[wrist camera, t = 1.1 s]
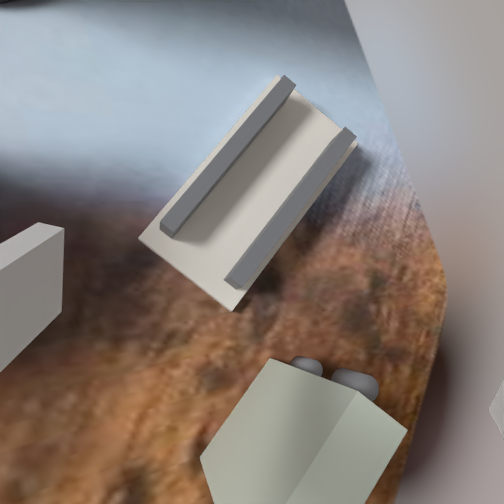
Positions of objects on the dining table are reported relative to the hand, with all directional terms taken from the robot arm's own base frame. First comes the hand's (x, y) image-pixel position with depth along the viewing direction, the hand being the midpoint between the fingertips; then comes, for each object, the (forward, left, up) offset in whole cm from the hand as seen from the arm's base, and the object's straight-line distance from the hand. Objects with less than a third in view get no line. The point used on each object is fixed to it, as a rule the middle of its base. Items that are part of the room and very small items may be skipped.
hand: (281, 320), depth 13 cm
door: (+8, +4, -23) cm, 25 cm away
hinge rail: (-10, +5, -23) cm, 26 cm away
